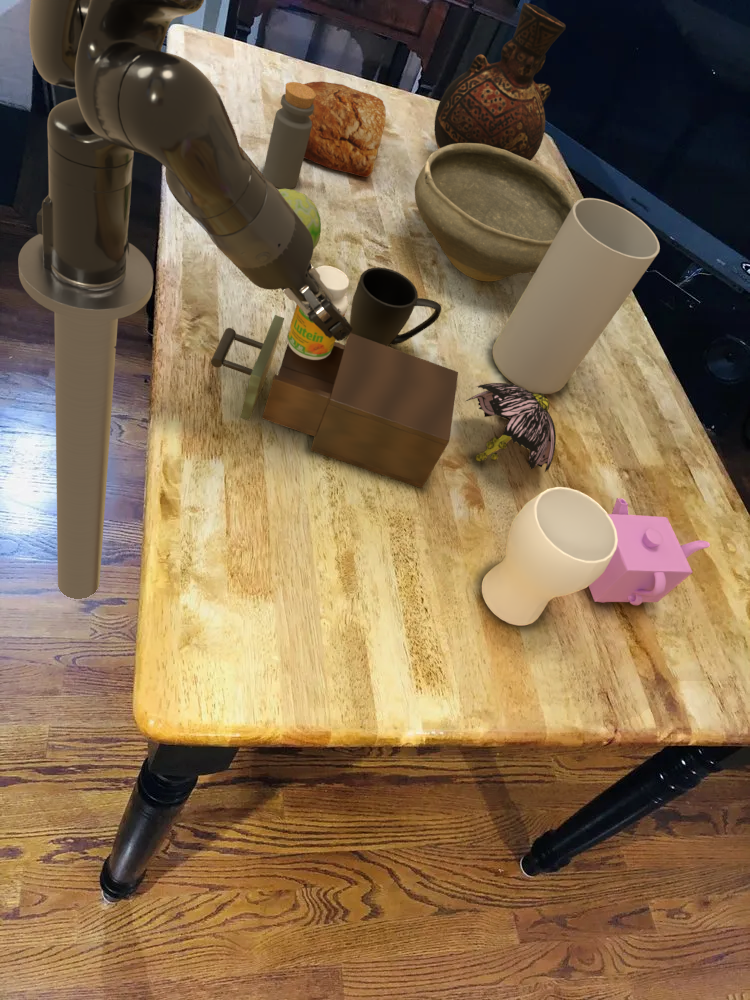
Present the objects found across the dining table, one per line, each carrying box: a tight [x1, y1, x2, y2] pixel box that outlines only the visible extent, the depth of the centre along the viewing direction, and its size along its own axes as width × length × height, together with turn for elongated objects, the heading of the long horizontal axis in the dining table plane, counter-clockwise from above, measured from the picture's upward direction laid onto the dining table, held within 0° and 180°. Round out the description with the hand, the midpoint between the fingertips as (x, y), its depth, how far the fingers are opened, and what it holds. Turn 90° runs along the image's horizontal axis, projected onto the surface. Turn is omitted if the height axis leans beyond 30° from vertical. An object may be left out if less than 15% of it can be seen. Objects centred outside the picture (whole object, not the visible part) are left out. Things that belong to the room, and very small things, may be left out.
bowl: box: [414, 143, 575, 282], centre depth 125 cm, size 28×28×14 cm
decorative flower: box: [465, 382, 557, 473], centre depth 100 cm, size 14×12×15 cm
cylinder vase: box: [492, 197, 661, 395], centre depth 107 cm, size 12×12×25 cm
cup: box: [481, 486, 618, 626], centre depth 83 cm, size 11×11×15 cm
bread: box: [281, 81, 387, 178], centre depth 135 cm, size 20×18×10 cm
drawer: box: [210, 314, 345, 437], centre depth 92 cm, size 19×11×7 cm, turn 81°
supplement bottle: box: [286, 265, 350, 360], centre depth 84 cm, size 5×5×10 cm
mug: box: [349, 266, 442, 347], centre depth 105 cm, size 8×12×10 cm
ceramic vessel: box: [434, 2, 566, 161], centre depth 138 cm, size 21×18×30 cm
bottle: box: [262, 81, 316, 190], centre depth 121 cm, size 6×6×15 cm
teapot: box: [588, 497, 711, 606], centre depth 92 cm, size 18×13×10 cm
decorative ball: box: [277, 188, 322, 250], centre depth 111 cm, size 10×10×10 cm
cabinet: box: [310, 333, 459, 489], centre depth 94 cm, size 15×13×9 cm
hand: (331, 315), depth 86 cm, fingers closed on supplement bottle, 5 cm apart
